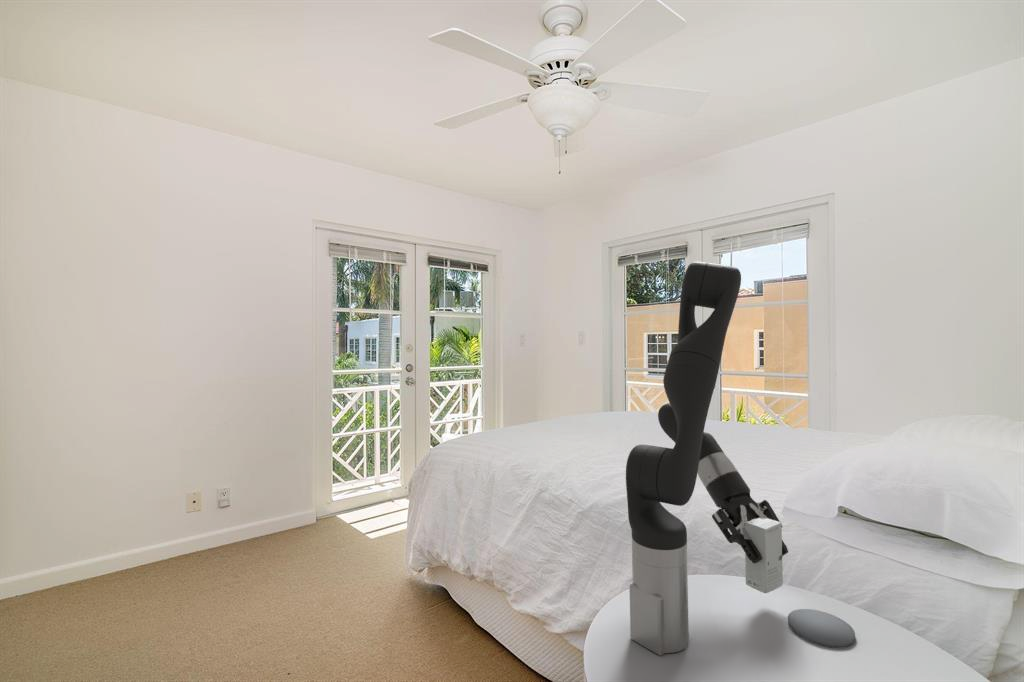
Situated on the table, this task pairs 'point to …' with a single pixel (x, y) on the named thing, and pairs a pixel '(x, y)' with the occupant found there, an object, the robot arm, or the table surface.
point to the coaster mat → (821, 628)
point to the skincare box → (765, 555)
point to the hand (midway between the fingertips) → (771, 557)
